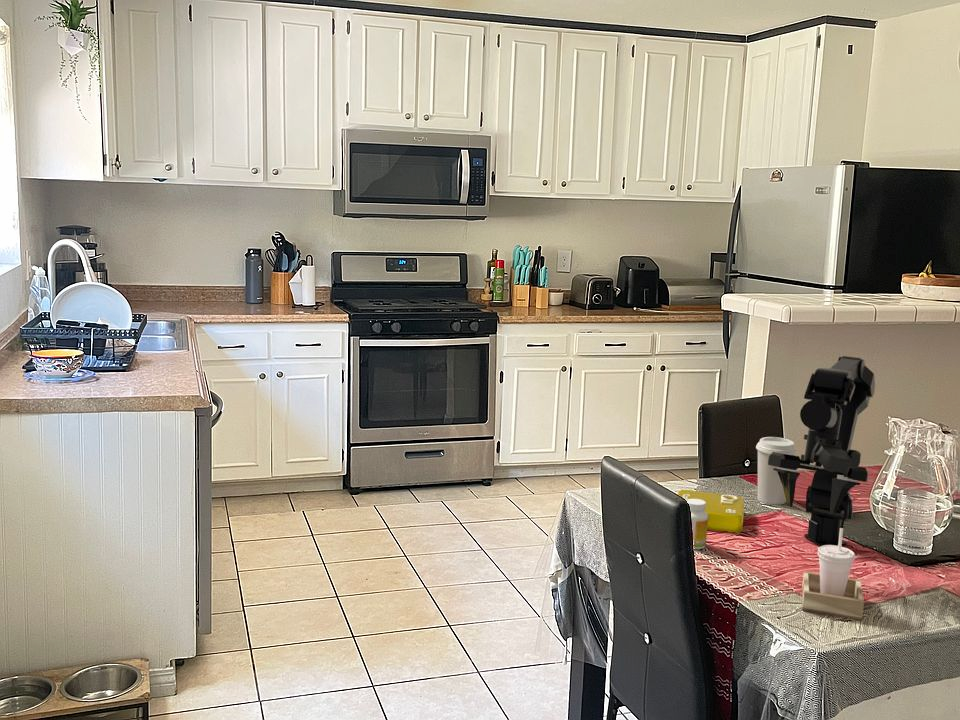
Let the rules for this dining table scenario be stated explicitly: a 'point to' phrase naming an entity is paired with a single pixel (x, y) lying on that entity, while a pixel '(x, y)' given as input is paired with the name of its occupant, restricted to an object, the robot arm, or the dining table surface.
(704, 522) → the supplement bottle
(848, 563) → the smoothie
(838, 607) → the cup holder
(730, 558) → the dining table surface
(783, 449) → the coffee cup
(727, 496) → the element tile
